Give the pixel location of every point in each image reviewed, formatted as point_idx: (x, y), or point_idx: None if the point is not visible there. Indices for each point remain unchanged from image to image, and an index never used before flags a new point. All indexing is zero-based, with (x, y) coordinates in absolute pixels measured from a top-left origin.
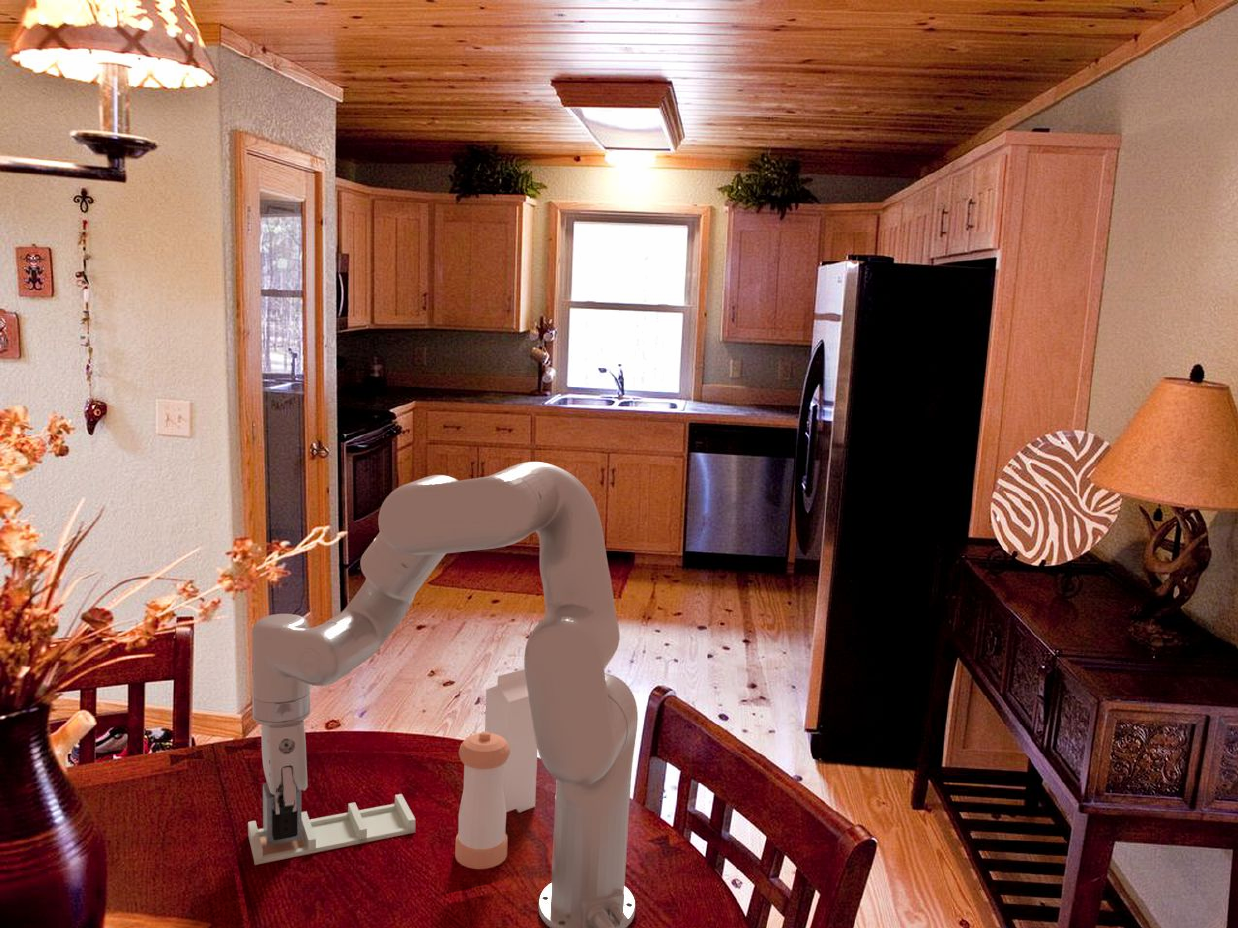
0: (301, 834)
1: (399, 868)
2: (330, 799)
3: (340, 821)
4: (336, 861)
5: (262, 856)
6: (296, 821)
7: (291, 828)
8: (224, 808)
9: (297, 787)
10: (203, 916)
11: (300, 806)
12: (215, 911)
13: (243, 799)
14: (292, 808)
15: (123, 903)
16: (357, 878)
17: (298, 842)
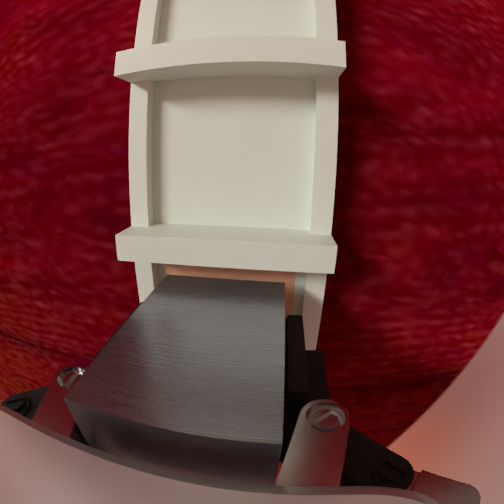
0: (284, 290)
1: (456, 40)
2: (31, 134)
3: (160, 112)
4: (367, 171)
5: None
6: (305, 351)
7: (323, 361)
8: (41, 352)
9: (194, 441)
10: (395, 436)
11: (283, 374)
12: (395, 425)
13: (16, 315)
14: (382, 449)
15: None
16: (465, 148)
17: (244, 269)
